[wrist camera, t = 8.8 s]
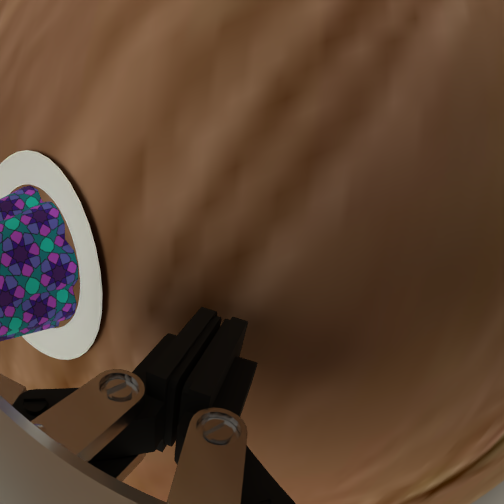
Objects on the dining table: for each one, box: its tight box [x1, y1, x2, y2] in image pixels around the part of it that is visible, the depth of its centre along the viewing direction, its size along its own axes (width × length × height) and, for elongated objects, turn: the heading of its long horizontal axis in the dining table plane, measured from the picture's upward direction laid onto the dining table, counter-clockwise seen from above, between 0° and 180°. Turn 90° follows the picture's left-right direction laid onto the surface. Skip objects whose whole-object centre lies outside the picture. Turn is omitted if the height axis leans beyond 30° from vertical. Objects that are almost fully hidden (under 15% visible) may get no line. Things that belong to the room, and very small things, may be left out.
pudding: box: [0, 150, 102, 360], centre depth 11 cm, size 12×12×5 cm
